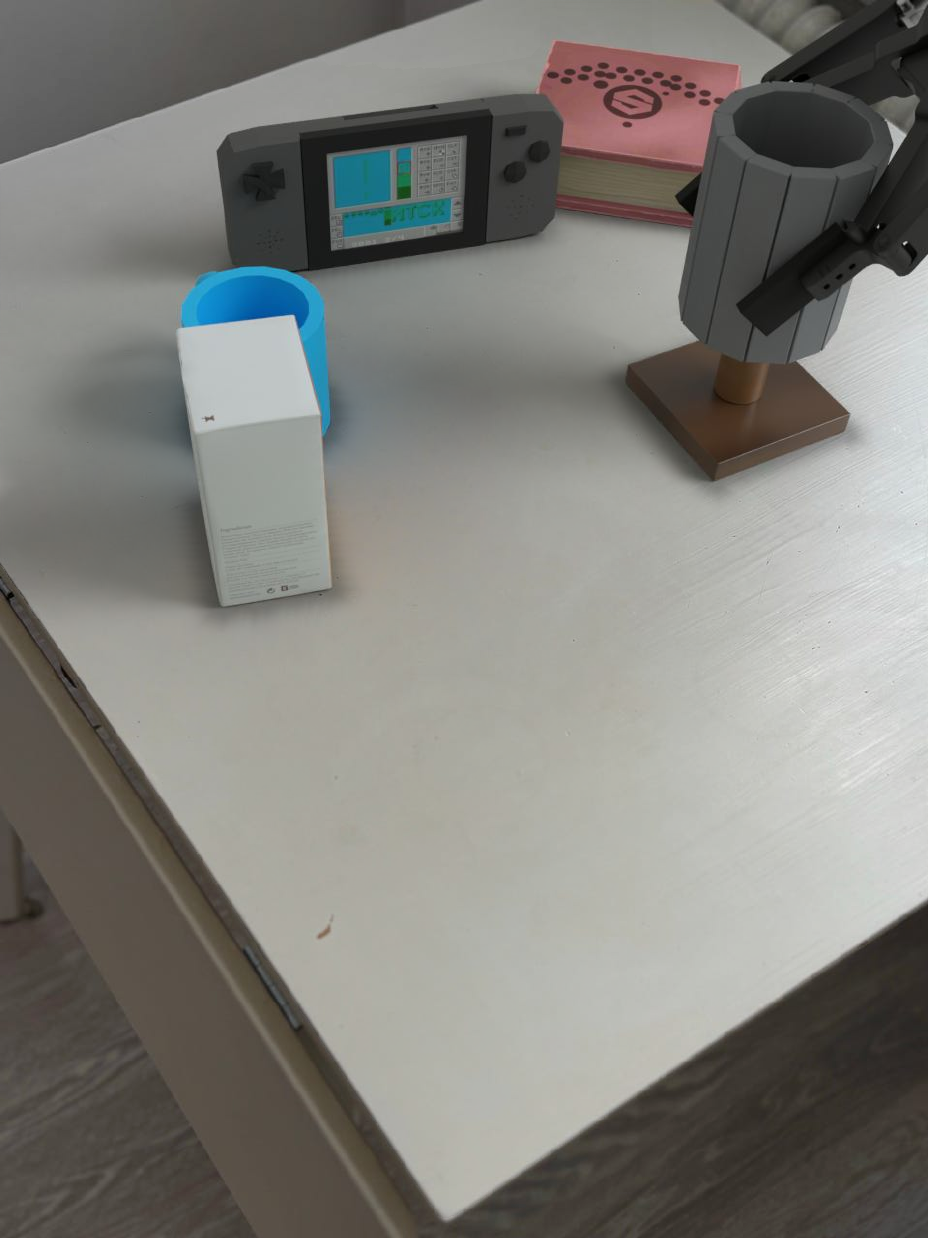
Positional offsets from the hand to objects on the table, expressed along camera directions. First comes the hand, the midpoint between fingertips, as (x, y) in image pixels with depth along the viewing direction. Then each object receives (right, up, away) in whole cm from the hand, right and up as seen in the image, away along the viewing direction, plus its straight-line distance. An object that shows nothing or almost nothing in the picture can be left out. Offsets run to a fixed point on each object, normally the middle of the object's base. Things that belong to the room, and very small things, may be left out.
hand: (719, 264), depth 77 cm
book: (-2, +14, +26) cm, 30 cm away
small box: (-26, -16, +1) cm, 30 cm away
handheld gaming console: (-19, +6, +19) cm, 27 cm away
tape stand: (+3, -7, +9) cm, 12 cm away
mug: (-28, -6, +8) cm, 30 cm away
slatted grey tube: (+3, -2, +4) cm, 5 cm away
